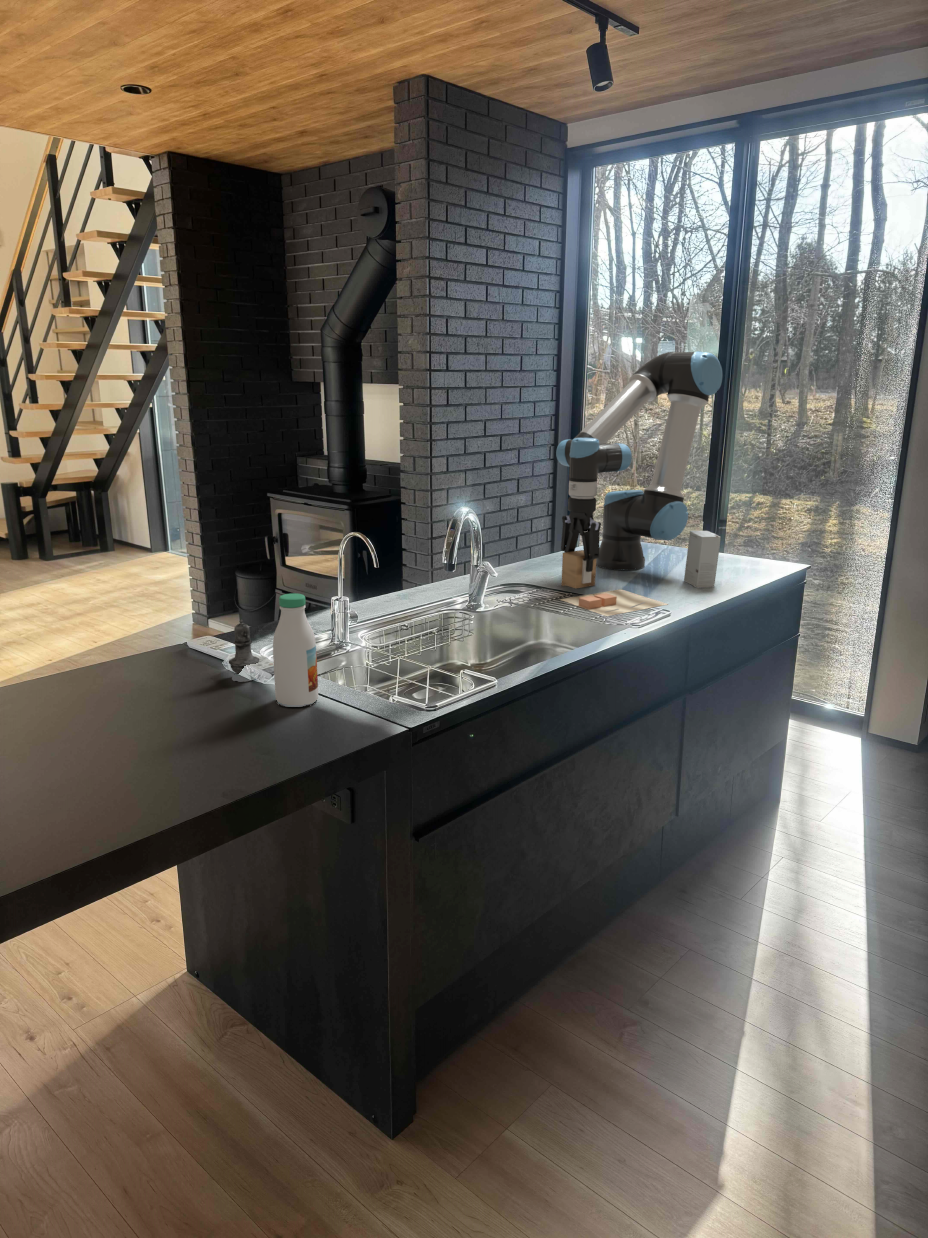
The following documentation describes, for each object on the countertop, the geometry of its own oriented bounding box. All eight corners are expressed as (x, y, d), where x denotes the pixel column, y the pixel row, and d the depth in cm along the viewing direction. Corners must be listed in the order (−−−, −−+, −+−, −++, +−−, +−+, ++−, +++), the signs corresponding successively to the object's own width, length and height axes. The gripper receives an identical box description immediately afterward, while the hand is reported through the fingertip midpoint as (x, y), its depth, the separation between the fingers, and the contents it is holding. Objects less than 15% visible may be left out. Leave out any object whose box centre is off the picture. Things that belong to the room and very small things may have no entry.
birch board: (620, 593, 236) (620, 588, 235) (668, 608, 221) (668, 604, 221) (559, 603, 225) (559, 599, 224) (606, 620, 210) (606, 616, 210)
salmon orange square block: (590, 603, 221) (591, 595, 221) (601, 606, 218) (601, 599, 217) (578, 605, 219) (579, 597, 218) (589, 609, 216) (589, 601, 215)
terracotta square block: (605, 600, 224) (606, 593, 223) (616, 604, 220) (616, 596, 220) (593, 602, 222) (594, 595, 221) (604, 606, 218) (604, 598, 218)
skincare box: (683, 581, 249) (687, 530, 245) (702, 580, 251) (707, 529, 246) (696, 588, 242) (701, 535, 237) (716, 587, 243) (721, 535, 239)
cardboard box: (580, 584, 245) (582, 549, 242) (594, 589, 240) (596, 553, 237) (561, 587, 241) (562, 552, 238) (575, 592, 236) (576, 556, 233)
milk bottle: (298, 712, 154) (293, 604, 148) (266, 703, 158) (260, 597, 152) (327, 699, 160) (323, 594, 154) (296, 690, 164) (290, 588, 158)
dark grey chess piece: (233, 684, 167) (229, 625, 163) (226, 675, 172) (222, 617, 168) (263, 680, 169) (260, 621, 166) (256, 670, 174) (252, 613, 171)
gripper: (549, 493, 239) (546, 574, 245) (594, 502, 224) (590, 589, 230) (570, 491, 243) (567, 571, 249) (616, 500, 227) (611, 585, 234)
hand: (578, 580), depth 240 cm, fingers closed on cardboard box, 6 cm apart
